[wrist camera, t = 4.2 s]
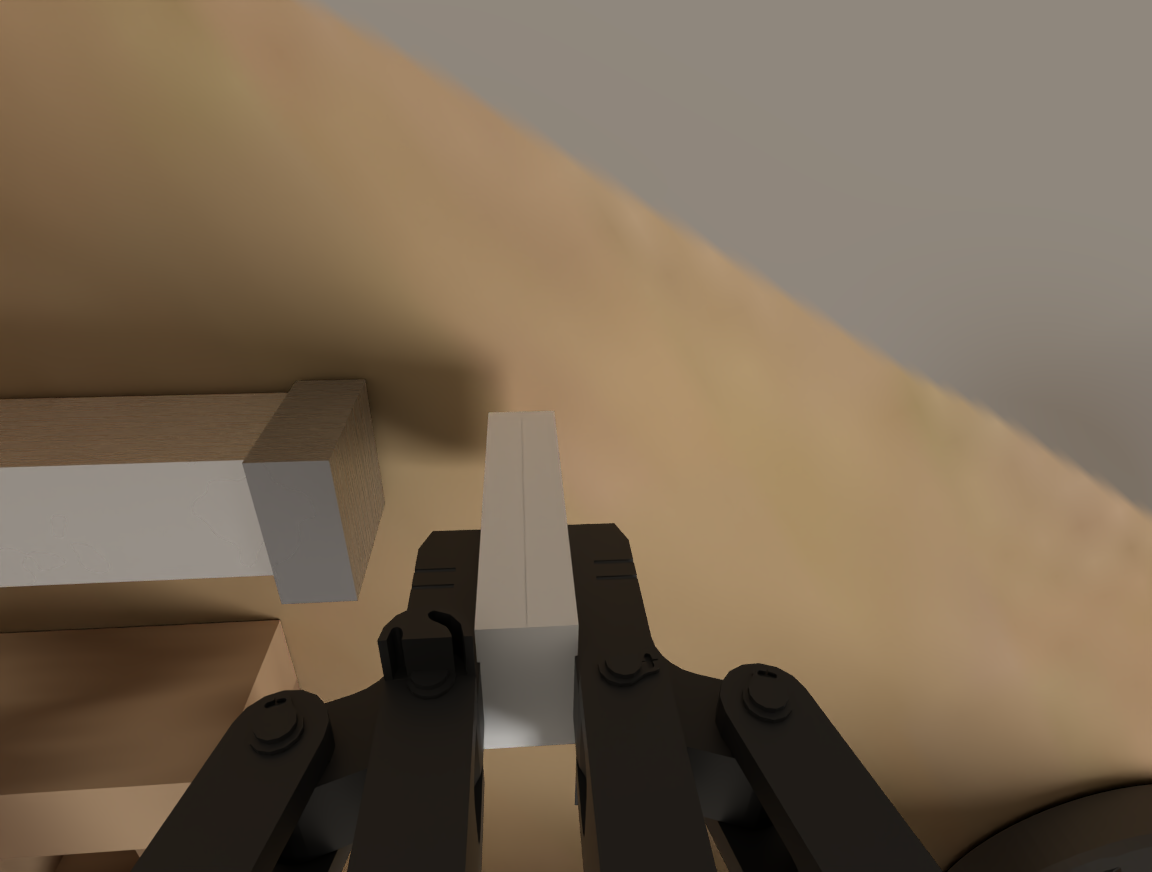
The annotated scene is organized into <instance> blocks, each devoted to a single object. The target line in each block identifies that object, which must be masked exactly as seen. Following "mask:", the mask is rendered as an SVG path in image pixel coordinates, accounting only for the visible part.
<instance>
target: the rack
mask: <svg viewBox="0 0 1152 872" xmlns="http://www.w3.org/2000/svg"><path fill="white" fill-rule="evenodd" d="M283 690H300V687H299V684H298V680H297V677H296V673H295V670H294V666H293V663H292V659H291V656H290V653H289V649H288V646H287V642H286V639H285V635H284V632H283V628H282V625H281V621H280V620H269V621H248V622H228V623H207V624H187V625H166V626H145V627H125V628H104V629H84V630H63V631H43V632H22V633H1V634H0V872H130V871H131V870H132V868H133V867H134V865H135V864H136V862H137V861H138V859H139V858H140V856H141V855H142V854H143V852H144V851H145V849H146V848H147V846H148V845H149V843H150V842H151V840H152V839H153V838H154V836H155V835H156V833H157V832H158V830H159V829H160V827H161V826H162V824H163V823H164V822H165V820H166V819H167V817H168V816H169V814H170V813H171V811H172V810H173V808H174V807H175V806H176V804H177V803H178V801H179V800H180V798H181V797H182V795H183V794H184V793H185V791H186V790H187V788H188V787H189V785H190V784H191V782H192V781H193V779H194V778H195V777H196V775H197V774H198V772H199V771H200V769H201V768H202V766H203V765H204V763H205V762H206V761H207V759H208V758H209V756H210V755H211V753H212V752H213V750H214V749H215V747H216V746H217V745H218V743H219V742H220V740H221V739H222V737H223V736H224V734H225V733H226V731H227V730H228V729H229V727H230V726H231V724H232V723H233V722H234V721H235V720H236V718H237V717H238V716H239V715H240V714H241V713H242V712H243V711H244V710H245V709H246V708H247V707H248V706H250V705H252V704H253V703H255V702H256V701H258V700H260V699H261V698H263V697H264V696H267V695H271V694H274V693H277V692H280V691H283Z"/></svg>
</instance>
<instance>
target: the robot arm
mask: <svg viewBox="0 0 1152 872" xmlns="http://www.w3.org/2000/svg"><path fill="white" fill-rule="evenodd" d="M378 647H379V652H380V658H381V663H382V669H383V674H384V677H382V678H381V679H380V680H379V681H378V682H376V683H375V684H373V685H372V686H370V687H369V688H367V689H365V690H362V691H360V692H357V693H355V694H353V695H350V696H347V697H343V698H340V699H337V700H334V701H331V702H328V703H325V704H324V703H323V701H322V700H321V699H320V698H319V697H318V696H317V695H315V694H312V693H309V692H307V691H304V690H283V691H280V692H277V693H274V694H271V695H267V696H264V697H263V698H261V699H260V700H258V701H256V702H255V703H253V704H252V705H250V706H248V707H247V708H246V709H245V710H244V711H243V712H242V713H241V714H240V715H239V716H238V717H237V718H236V720H235V721H234V722H233V723H232V724H231V726H230V727H229V729H228V730H227V731H226V733H225V734H224V736H223V737H222V739H221V740H220V742H219V743H218V745H217V746H216V747H215V749H214V750H213V752H212V753H211V755H210V756H209V758H208V759H207V761H206V762H205V763H204V765H203V766H202V768H201V769H200V771H199V772H198V774H197V775H196V777H195V778H194V779H193V781H192V782H191V784H190V785H189V787H188V788H187V790H186V791H185V793H184V794H183V795H182V797H181V798H180V800H179V801H178V803H177V804H176V806H175V807H174V808H173V810H172V811H171V813H170V814H169V816H168V817H167V819H166V820H165V822H164V823H163V824H162V826H161V827H160V829H159V830H158V832H157V833H156V835H155V836H154V838H153V839H152V840H151V842H150V843H149V845H148V846H147V848H146V849H145V851H144V852H143V854H142V855H141V856H140V858H139V859H138V861H137V862H136V864H135V865H134V867H133V868H132V870H131V871H130V872H342V870H343V867H344V865H345V863H346V860H347V858H348V856H349V853H350V851H351V854H350V859H349V865H348V870H347V872H481V870H482V841H483V812H484V771H483V750H484V749H495V748H511V747H527V746H544V745H560V744H575V745H576V785H575V805H578V809H579V821H580V833H581V845H582V857H583V869H584V872H717V870H716V866H715V862H714V858H713V854H712V850H711V846H710V842H709V838H708V833H707V829H706V825H707V827H708V829H709V831H710V833H711V835H712V837H713V839H714V841H715V844H716V846H717V848H718V850H719V852H720V854H721V856H722V858H723V860H724V862H725V864H726V866H727V868H728V870H729V872H943V871H942V870H941V868H940V867H939V866H938V864H937V863H936V862H935V860H934V859H933V858H932V856H931V855H930V854H929V852H928V851H927V850H926V848H925V847H924V846H923V844H922V843H921V842H920V840H919V839H918V838H917V836H916V835H915V834H914V832H913V831H912V830H911V828H910V827H909V826H908V824H907V823H906V822H905V820H904V819H903V818H902V816H901V815H900V814H899V812H898V811H897V810H896V808H895V807H894V806H893V804H892V803H891V802H890V800H889V799H888V798H887V796H886V795H885V794H884V792H883V791H882V790H881V788H880V787H879V786H878V784H877V783H876V782H875V780H874V779H873V778H872V776H871V775H870V774H869V772H868V771H867V770H866V768H865V767H864V766H863V764H862V763H861V762H860V760H859V759H858V758H857V756H856V755H855V754H854V752H853V751H852V750H851V748H850V747H849V746H848V744H847V743H846V742H845V740H844V739H843V738H842V736H841V735H840V734H839V732H838V731H837V730H836V728H835V727H834V726H833V724H832V723H831V722H830V720H829V719H828V718H827V716H826V715H825V714H824V712H823V711H822V710H821V708H820V707H819V706H818V704H817V703H816V702H815V700H814V699H813V698H812V696H811V695H810V694H809V692H808V691H807V690H806V688H805V687H804V686H803V685H802V684H801V683H800V682H799V681H798V680H796V679H795V678H794V677H793V676H792V675H790V674H788V673H786V672H785V671H783V670H781V669H779V668H777V667H773V666H769V665H764V664H760V663H757V664H745V665H741V666H739V667H737V668H735V669H733V670H731V671H729V673H728V674H727V675H726V677H725V678H724V680H720V679H716V678H712V677H707V676H703V675H698V674H695V673H692V672H689V671H685V670H683V669H681V668H679V667H677V666H675V665H674V664H672V663H670V662H669V661H668V660H667V659H666V658H665V657H663V656H662V655H661V653H660V652H659V651H658V649H657V648H656V647H655V645H654V642H653V640H652V637H651V634H650V630H649V625H648V621H647V617H646V613H645V608H644V604H643V600H642V596H641V591H640V587H639V583H638V579H637V574H636V570H635V566H634V563H633V557H632V553H631V549H630V544H629V540H628V539H627V538H626V536H625V535H624V534H623V533H622V532H621V531H620V530H619V528H618V527H617V526H616V525H615V524H614V523H609V524H580V525H567V519H566V510H565V501H564V492H563V483H562V475H561V466H560V457H559V448H558V440H557V431H556V422H555V413H554V411H530V412H489V413H488V428H487V444H486V459H485V475H484V490H483V505H482V521H481V530H455V531H433V532H432V533H431V534H430V535H429V537H428V538H427V539H426V540H425V542H424V543H423V544H422V545H421V547H420V548H419V549H418V555H417V560H416V566H415V573H414V576H413V582H412V590H411V593H410V598H409V603H408V609H407V611H405V612H403V613H401V614H398V615H396V616H395V617H394V618H393V619H392V620H391V621H390V622H389V623H388V624H387V625H386V626H385V627H384V628H383V630H382V632H381V634H380V636H379V638H378ZM705 823H706V825H705ZM947 872H1152V784H1151V785H1141V786H1134V787H1127V788H1122V789H1116V790H1112V791H1107V792H1103V793H1099V794H1095V795H1091V796H1087V797H1084V798H1080V799H1077V800H1074V801H1071V802H1068V803H1065V804H1062V805H1059V806H1056V807H1054V808H1051V809H1048V810H1046V811H1043V812H1041V813H1039V814H1036V815H1034V816H1032V817H1029V818H1027V819H1025V820H1023V821H1021V822H1019V823H1017V824H1015V825H1013V826H1011V827H1009V828H1007V829H1005V830H1003V831H1001V832H1000V833H998V834H996V835H995V836H993V837H991V838H990V839H988V840H986V841H985V842H983V843H982V844H980V845H979V846H977V847H976V848H975V849H973V850H972V851H970V852H969V853H968V854H966V855H965V856H964V857H963V858H961V859H960V860H959V861H958V862H957V863H956V864H955V865H954V866H952V867H951V868H950V869H949V870H948V871H947Z"/></svg>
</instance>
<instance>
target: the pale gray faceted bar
mask: <svg viewBox="0 0 1152 872" xmlns="http://www.w3.org/2000/svg"><path fill="white" fill-rule="evenodd" d="M384 505H385V500H384V494H383V488H382V481H381V475H380V469H379V463H378V456H377V450H376V444H375V438H374V431H373V425H372V419H371V413H370V407H369V400H368V394H367V388H366V382H365V379H361V380H316V381H295V383H294V384H293V386H292V387H291V389H290V390H289V392H288V393H252V394H209V395H166V396H124V397H81V398H39V399H0V587H14V586H37V585H60V584H83V583H106V582H129V581H152V580H175V579H198V578H221V577H244V576H267V575H274V579H275V582H276V586H277V589H278V593H279V596H280V600H281V603H282V604H295V603H316V602H338V601H358V597H359V594H360V590H361V587H362V583H363V579H364V576H365V572H366V569H367V565H368V562H369V558H370V555H371V551H372V548H373V544H374V540H375V537H376V533H377V530H378V526H379V523H380V519H381V516H382V512H383V509H384Z"/></svg>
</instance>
